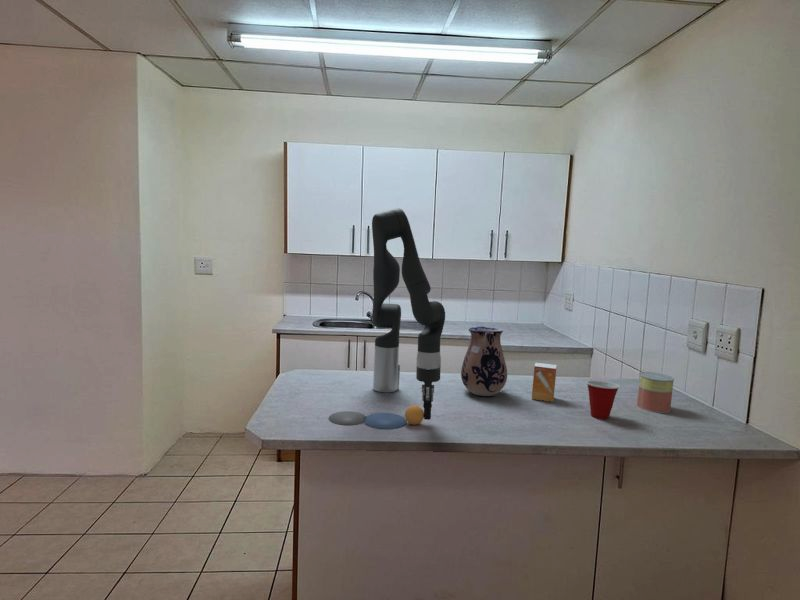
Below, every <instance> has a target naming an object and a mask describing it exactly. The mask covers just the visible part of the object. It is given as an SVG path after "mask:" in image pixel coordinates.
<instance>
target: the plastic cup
mask: <svg viewBox="0 0 800 600" xmlns="http://www.w3.org/2000/svg"><path fill="white" fill-rule="evenodd" d="M586 384H587V388H588V400H589V401H588V402H589V406H590V407H589V410H590V416H591V417H593V418H595V419H597V420H598V419H599V420H608V419H609V417H610V416H611V411H612V408H613V406H614V402H615V398H616V395H617V393H618V390H619V389H620V387H621V386H620V385H619V384H617V383H613V382H610V381H609V382H608V381H603V380H586Z"/></svg>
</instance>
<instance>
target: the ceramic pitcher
mask: <svg viewBox="0 0 800 600" xmlns="http://www.w3.org/2000/svg"><path fill="white" fill-rule="evenodd" d="M468 331H469V332H470V342H469V345H468V347H467V350H466V352H465V355H464V358H463V362H462V364H461V370H460V371H461V372H460V373H461V374H460V377H461V380H462V384H463V385H464V387H465V388H466V389H467V390H468V392H470V393H471V394H473V395H476V396H481V397H491V396H496V395H497V394H499V393H500V392H501V390H503V389H504V387H505V385H506V383H507V380H508V368H507V364H506V359H505V355H504V351H503V347H502V343H501V335H502V334H503V332H504V330H503V329H499V328H494V327H487V326H483V325H480V326H475V327H473V326H472V327H469V328H468Z"/></svg>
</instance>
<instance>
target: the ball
mask: <svg viewBox="0 0 800 600" xmlns="http://www.w3.org/2000/svg"><path fill="white" fill-rule="evenodd" d="M404 418H405V419H406V420H407V423H408V424H410V425H413V426H416V425H419V424H421V423H422V421H424V409H422V407H420V406H419V405H409V407H408V408H407V409H406V410H405V413H404Z"/></svg>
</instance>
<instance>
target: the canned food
mask: <svg viewBox="0 0 800 600" xmlns="http://www.w3.org/2000/svg"><path fill="white" fill-rule="evenodd" d="M674 380H675V378H674V377H673V376H671V375H668V374H664V373H660V372H659V373H658V372H650V371H649V372H646V371H645V372H640V373H639V381H638V382H639V384H638V392H637V393H638V394H637V400H636V401H637V402H636V407H637V408H639V409H640V410H644V411H646V412H647V411H648V412H651V413H657V414H667V413H671V407H672V406H671V404H672V400H673V399H672V398H673V390H674V389H673V388H674Z"/></svg>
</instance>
